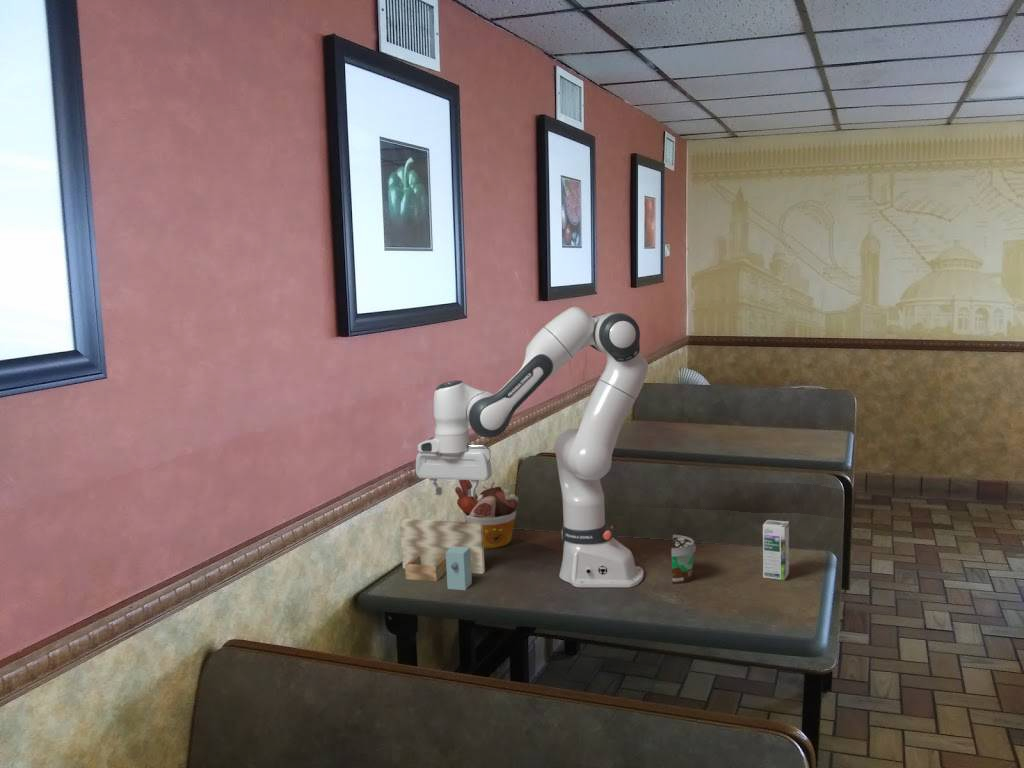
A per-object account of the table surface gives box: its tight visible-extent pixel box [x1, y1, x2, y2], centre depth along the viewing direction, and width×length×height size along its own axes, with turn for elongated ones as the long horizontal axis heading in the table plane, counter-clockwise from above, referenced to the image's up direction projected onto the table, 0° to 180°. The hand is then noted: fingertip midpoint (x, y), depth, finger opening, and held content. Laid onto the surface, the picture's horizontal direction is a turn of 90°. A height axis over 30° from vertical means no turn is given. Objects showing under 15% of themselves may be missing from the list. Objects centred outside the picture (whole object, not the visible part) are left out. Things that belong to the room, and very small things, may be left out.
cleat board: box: [399, 518, 486, 582], centre depth 256 cm, size 24×10×14 cm, turn 72°
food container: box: [671, 534, 697, 585], centre depth 246 cm, size 12×6×10 cm, turn 168°
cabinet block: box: [446, 546, 473, 591], centre depth 247 cm, size 5×6×10 cm
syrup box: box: [762, 519, 790, 581], centre depth 244 cm, size 6×6×14 cm
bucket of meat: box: [454, 480, 519, 550], centre depth 281 cm, size 20×16×20 cm
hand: (454, 495), depth 244 cm, fingers open, 8 cm apart
